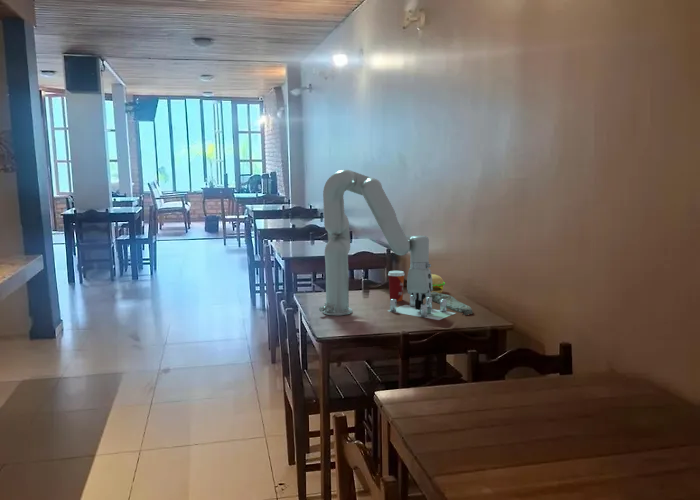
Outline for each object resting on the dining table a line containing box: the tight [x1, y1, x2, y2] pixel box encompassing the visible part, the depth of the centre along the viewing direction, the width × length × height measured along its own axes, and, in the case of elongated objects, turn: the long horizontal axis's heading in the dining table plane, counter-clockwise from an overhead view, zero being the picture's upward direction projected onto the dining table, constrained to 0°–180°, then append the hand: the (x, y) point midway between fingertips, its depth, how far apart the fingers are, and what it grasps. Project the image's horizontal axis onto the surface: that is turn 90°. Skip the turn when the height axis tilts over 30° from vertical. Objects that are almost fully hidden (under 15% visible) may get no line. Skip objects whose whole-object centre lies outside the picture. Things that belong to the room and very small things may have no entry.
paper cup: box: [387, 270, 406, 302], centre depth 267 cm, size 8×8×14 cm
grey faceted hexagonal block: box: [420, 307, 431, 315], centre depth 242 cm, size 4×5×2 cm
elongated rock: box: [429, 292, 473, 316], centre depth 259 cm, size 35×5×10 cm
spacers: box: [389, 294, 448, 318], centre depth 246 cm, size 15×20×5 cm
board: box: [387, 304, 456, 321], centre depth 245 cm, size 14×25×1 cm, turn 52°
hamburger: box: [431, 273, 446, 294], centre depth 288 cm, size 12×12×9 cm
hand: (419, 308), depth 246 cm, fingers closed
